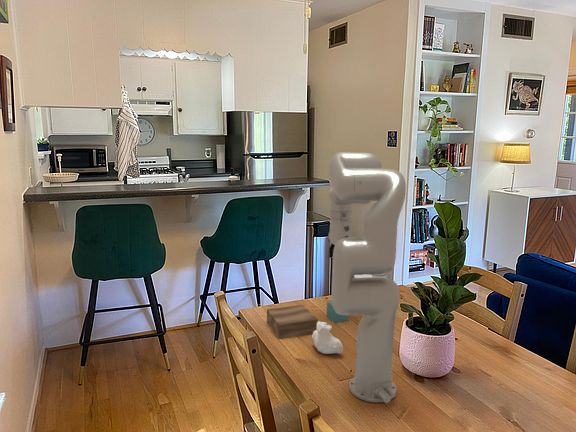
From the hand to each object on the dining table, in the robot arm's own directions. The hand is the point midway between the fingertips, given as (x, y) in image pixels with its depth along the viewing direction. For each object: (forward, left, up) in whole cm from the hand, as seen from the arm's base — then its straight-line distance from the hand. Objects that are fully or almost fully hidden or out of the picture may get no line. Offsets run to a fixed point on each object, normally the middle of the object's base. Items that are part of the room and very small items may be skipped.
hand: (339, 260), depth 167 cm
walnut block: (-2, +19, -22) cm, 29 cm away
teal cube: (0, 0, -22) cm, 22 cm away
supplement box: (+6, -14, -23) cm, 27 cm away
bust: (-22, +15, -23) cm, 35 cm away
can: (+12, -24, -22) cm, 35 cm away
